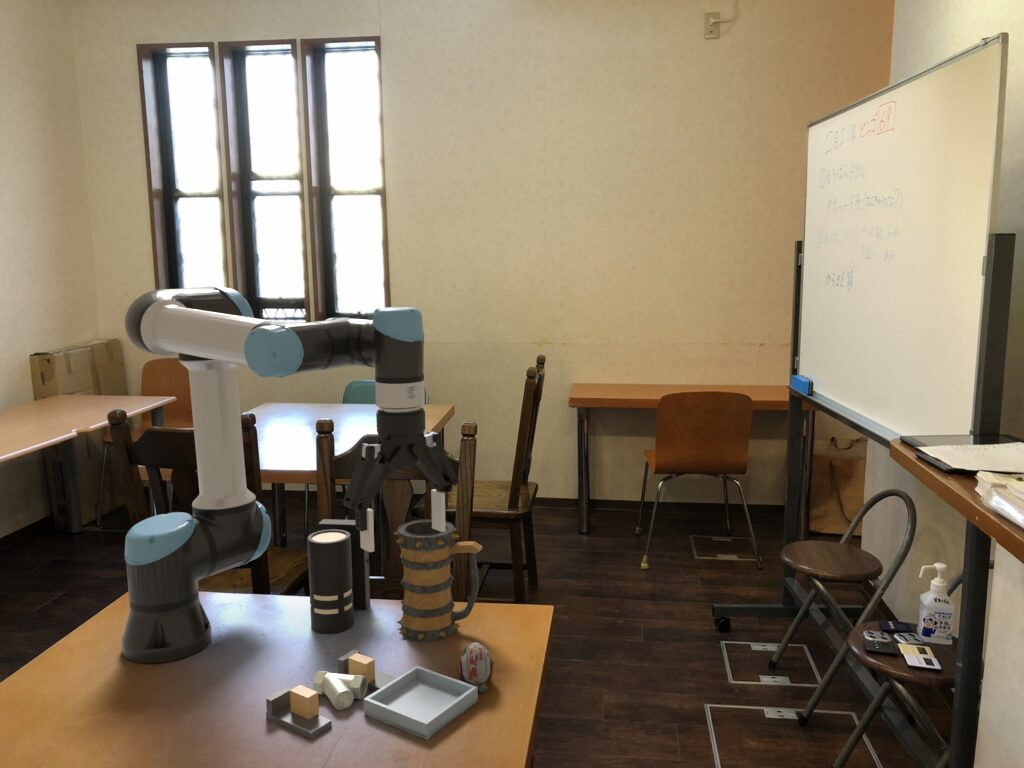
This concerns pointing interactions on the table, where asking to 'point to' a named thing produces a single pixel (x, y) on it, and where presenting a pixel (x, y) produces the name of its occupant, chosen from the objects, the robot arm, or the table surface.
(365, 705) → the parts tray
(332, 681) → the pipe fitting
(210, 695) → the table surface
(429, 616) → the mug
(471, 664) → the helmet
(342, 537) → the light fixture
